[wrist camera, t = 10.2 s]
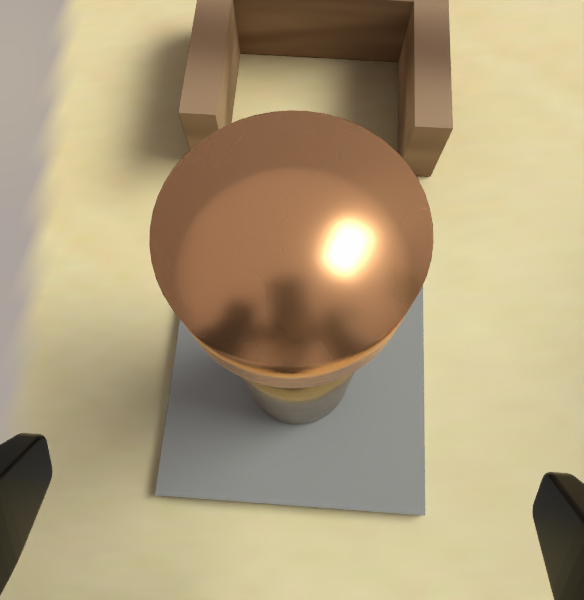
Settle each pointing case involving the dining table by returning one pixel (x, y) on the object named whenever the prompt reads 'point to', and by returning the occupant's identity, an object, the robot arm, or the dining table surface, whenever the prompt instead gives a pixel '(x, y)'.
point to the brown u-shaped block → (327, 44)
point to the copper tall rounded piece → (292, 253)
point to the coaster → (300, 435)
